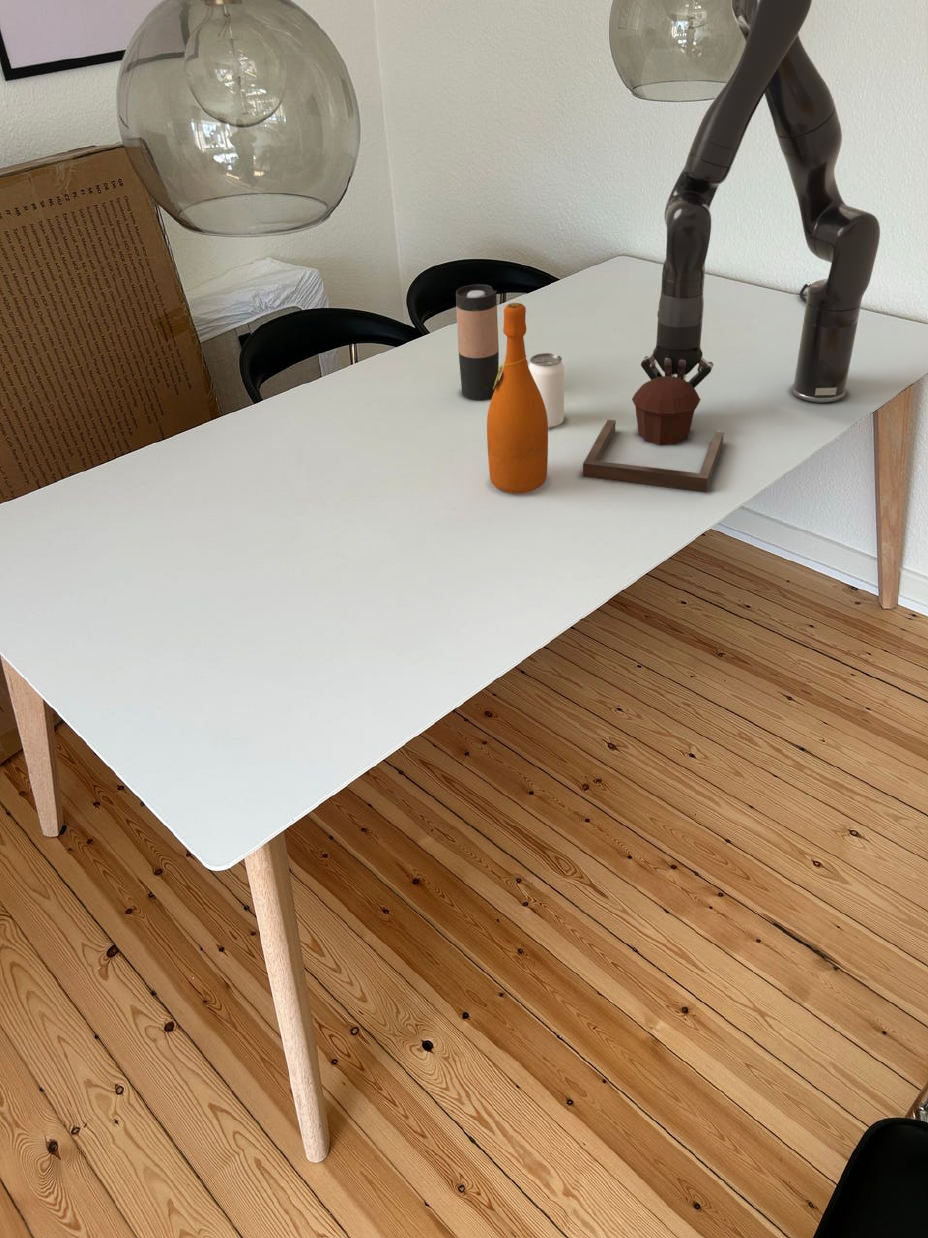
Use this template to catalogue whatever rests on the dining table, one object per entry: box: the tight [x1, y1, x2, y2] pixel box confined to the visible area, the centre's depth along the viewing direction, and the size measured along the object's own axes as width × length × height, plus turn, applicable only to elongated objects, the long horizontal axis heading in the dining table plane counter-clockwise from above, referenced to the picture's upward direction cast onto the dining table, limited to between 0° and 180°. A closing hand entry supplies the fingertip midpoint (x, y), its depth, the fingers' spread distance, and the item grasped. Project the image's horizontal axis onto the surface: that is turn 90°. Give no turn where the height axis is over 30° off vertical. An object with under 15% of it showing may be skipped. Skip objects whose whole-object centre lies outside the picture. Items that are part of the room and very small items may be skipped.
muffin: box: [631, 375, 701, 446], centre depth 178 cm, size 12×11×10 cm
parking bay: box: [582, 419, 725, 493], centre depth 172 cm, size 17×20×2 cm
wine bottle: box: [486, 302, 549, 494], centre depth 161 cm, size 10×10×30 cm
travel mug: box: [455, 284, 500, 401], centre depth 193 cm, size 8×8×20 cm
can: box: [528, 352, 565, 429], centre depth 184 cm, size 6×6×12 cm
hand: (673, 410), depth 185 cm, fingers closed
